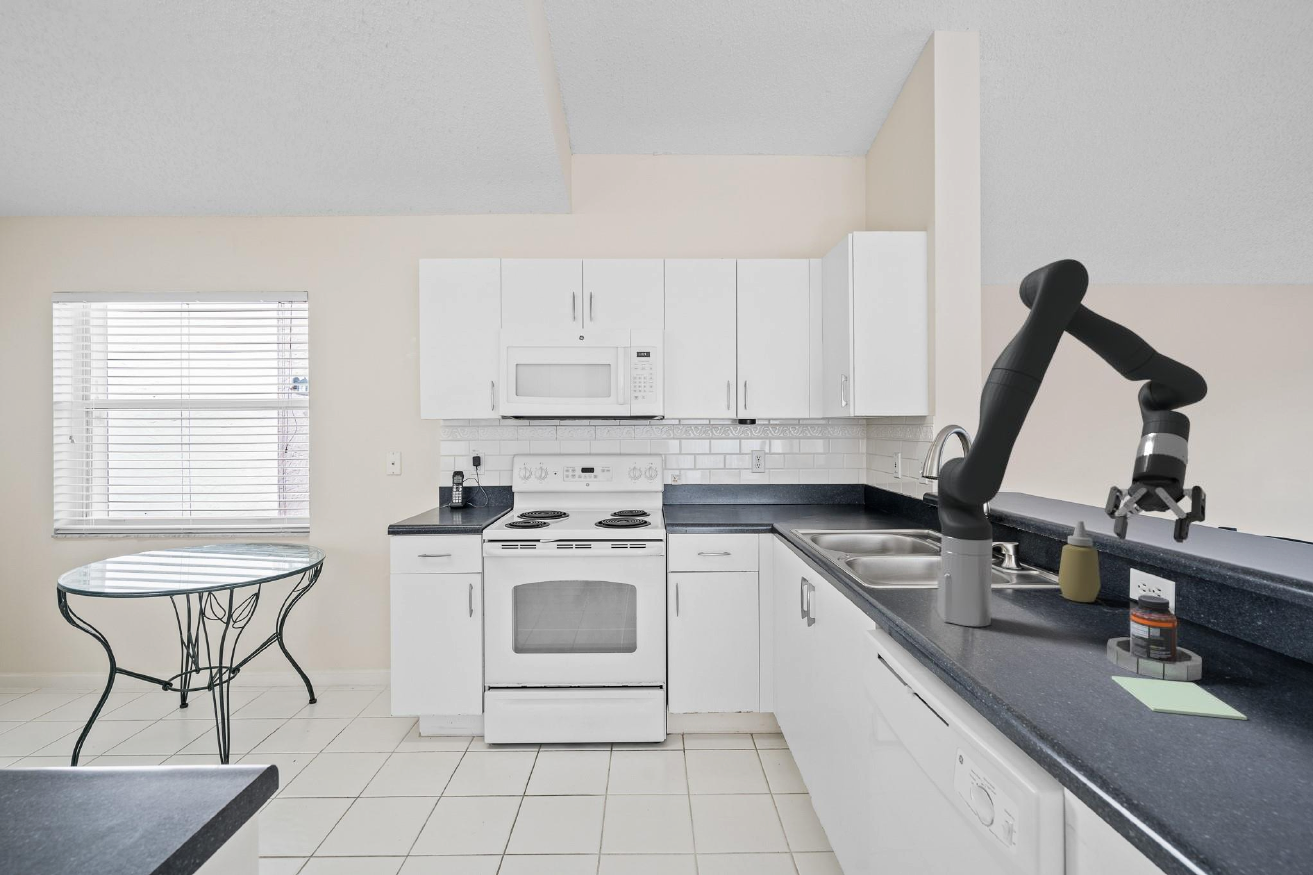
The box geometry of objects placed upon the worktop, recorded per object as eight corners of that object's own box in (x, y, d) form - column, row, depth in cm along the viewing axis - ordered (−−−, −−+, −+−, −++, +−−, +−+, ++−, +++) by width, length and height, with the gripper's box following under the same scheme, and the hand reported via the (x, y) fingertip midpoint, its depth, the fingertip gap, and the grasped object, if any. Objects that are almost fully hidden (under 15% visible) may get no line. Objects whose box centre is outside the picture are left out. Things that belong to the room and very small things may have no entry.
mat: (1153, 711, 83) (1153, 708, 83) (1111, 678, 94) (1111, 675, 94) (1246, 719, 81) (1246, 717, 81) (1193, 685, 92) (1193, 682, 92)
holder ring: (1131, 676, 95) (1132, 661, 95) (1093, 648, 107) (1094, 635, 107) (1220, 684, 92) (1220, 668, 92) (1171, 654, 104) (1172, 640, 104)
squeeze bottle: (1092, 596, 140) (1094, 519, 139) (1106, 606, 132) (1108, 525, 132) (1052, 592, 142) (1054, 517, 142) (1063, 602, 135) (1065, 523, 134)
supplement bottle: (1158, 659, 102) (1160, 593, 102) (1185, 673, 96) (1187, 604, 96) (1121, 657, 103) (1122, 592, 103) (1146, 671, 97) (1147, 602, 97)
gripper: (1108, 454, 118) (1094, 527, 113) (1201, 449, 106) (1190, 531, 101) (1124, 473, 121) (1111, 545, 116) (1216, 471, 109) (1207, 551, 104)
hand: (1148, 539), depth 108 cm, fingers open, 8 cm apart
